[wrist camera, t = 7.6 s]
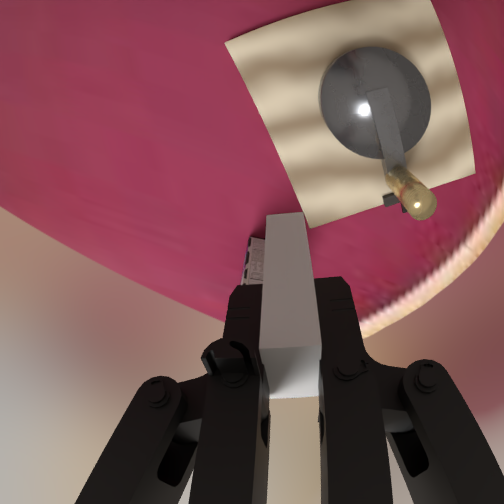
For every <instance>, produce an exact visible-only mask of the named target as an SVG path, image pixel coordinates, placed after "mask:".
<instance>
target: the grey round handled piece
mask: <svg viewBox="0 0 504 504" xmlns="http://www.w3.org/2000/svg"><path fill="white" fill-rule="evenodd" d="M318 103H319V109H320V112H321V116H322V118H323V120H324V122H325V124H326V126H327V127H328V129H329V130H330V131H331V133H332V134H333V135H334V136H335V138H336V139H337V140H338V141H339V142H340V143H341V144H342V145H343V146H345V147H346V148H347V149H349V150H350V151H352V152H354V153H356V154H358V155H360V156H363V157H366V158H372V159H381V162H382V166H383V171H384V175H385V181H386V184H387V186H388V187H389V188H390V190H391V191H392V192H393V193H394V194H395V196H396V197H397V198H398V199H399V201H400V202H401V207H402V212H403V213H405V212H409V214H410V215H411V216H412V217H413V218H414V219H416V220H425V219H427V218H429V217H430V216H431V215H432V214H433V213H434V211H435V209H436V206H437V200H436V197H435V195H434V194H433V193H432V192H431V191H430V190H429V189H428V188H427V187H426V186H425V185H424V184H423V183H422V182H421V181H420V180H419V179H417V178H416V177H415V176H414V175H413V174H412V173H411V172H410V171H409V170H408V169H407V165H406V160H405V155H404V153H405V152H407V151H409V150H410V149H411V148H413V147H414V146H415V145H416V144H417V143H418V142H419V140H420V139H421V138H422V136H423V135H424V133H425V131H426V129H427V127H428V124H429V121H430V115H431V98H430V93H429V90H428V86H427V84H426V82H425V80H424V78H423V76H422V75H421V73H420V72H419V70H418V69H417V68H416V67H415V65H413V64H412V63H411V62H410V61H409V60H408V59H407V58H405V57H404V56H402V55H401V54H399V53H397V52H395V51H392V50H390V49H386V48H382V47H362V48H358V49H354V50H350V51H348V52H345V53H343V54H341V55H340V56H338V57H337V58H336V59H335V60H333V61H332V62H331V63H330V65H329V66H328V67H327V68H326V70H325V72H324V73H323V76H322V78H321V81H320V85H319V90H318Z"/></svg>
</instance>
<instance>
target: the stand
mask: <svg viewBox="0 0 504 504" xmlns="http://www.w3.org/2000/svg"><path fill="white" fill-rule="evenodd" d="M225 45H226V47H227V49H228V51H229V53H230V55H231V57H232V59H233V60H234V62H235V64H236V66H237V68H238V70H239V72H240V74H241V76H242V78H243V80H244V82H245V84H246V86H247V88H248V90H249V92H250V94H251V96H252V98H253V100H254V102H255V104H256V106H257V109H258V111H259V113H260V115H261V117H262V119H263V121H264V123H265V125H266V128H267V130H268V132H269V134H270V136H271V138H272V141H273V143H274V145H275V147H276V149H277V152H278V154H279V156H280V158H281V161H282V163H283V165H284V167H285V170H286V172H287V174H288V177H289V179H290V181H291V184H292V186H293V188H294V191H295V193H296V196H297V198H298V200H299V203H300V205H301V208H302V210H303V212H304V215H305V217H306V220H307V222H308V225H309V227H310V229H311V228H314V227H317V226H320V225H323V224H326V223H329V222H332V221H335V220H338V219H341V218H344V217H347V216H349V215H352V214H355V213H358V212H361V211H364V210H367V209H370V208H373V207H376V206H379V205H382V204H384V205H385V207H388V206H391V205H394V204H396V203H399V202H400V201H399V199H398V198H397V197H396V196H395V194H394V193H393V192H392V191H391V190H390V188H389V187H388V186H387V184H386V181H385V175H384V171H383V166H382V162H381V159H372V158H366V157H363V156H360V155H358V154H356V153H354V152H352V151H350V150H349V149H347V148H346V147H345V146H343V145H342V144H341V143H340V142H339V141H338V140H337V139H336V138H335V136H334V135H333V134H332V133H331V131H330V130H329V129H328V127H327V126H326V124H325V122H324V120H323V118H322V116H321V112H320V109H319V103H318V90H319V85H320V81H321V78H322V76H323V73H324V72H325V70H326V68H327V67H328V66H329V65H330V63H331V62H332V61H333V60H335V59H336V58H337V57H338V56H340V55H341V54H343V53H345V52H348V51H350V50H354V49H358V48H362V47H382V48H386V49H390V50H392V51H395V52H397V53H399V54H401V55H402V56H404V57H405V58H407V59H408V60H409V61H410V62H411V63H412V64H413V65H415V67H416V68H417V69H418V70H419V72H420V73H421V75H422V76H423V78H424V80H425V82H426V84H427V86H428V90H429V93H430V98H431V115H430V121H429V124H428V127H427V129H426V131H425V133H424V135H423V136H422V138H421V139H420V140H419V142H418V143H417V144H416V145H415V146H414V147H413V148H411V149H410V150H409V151H407V152H405V153H404V155H405V160H406V165H407V169H408V170H409V171H410V172H411V173H412V174H413V175H414V176H415V177H416V178H417V179H419V180H420V181H421V182H422V183H423V184H424V185H425V186H426V187H427V188H428V189H430V188H433V187H436V186H439V185H442V184H445V183H448V182H451V181H454V180H457V179H460V178H463V177H466V176H469V175H472V174H475V165H474V157H473V149H472V142H471V136H470V130H469V124H468V119H467V113H466V109H465V104H464V100H463V95H462V91H461V87H460V83H459V79H458V76H457V72H456V69H455V65H454V62H453V59H452V56H451V53H450V50H449V47H448V44H447V41H446V38H445V35H444V33H443V30H442V27H441V25H440V22H439V20H438V17H437V15H436V12H435V10H434V8H433V5H432V3H431V1H430V0H351V1H346V2H342V3H338V4H334V5H330V6H326V7H322V8H318V9H315V10H311V11H308V12H305V13H301V14H298V15H295V16H292V17H289V18H286V19H283V20H280V21H277V22H274V23H272V24H269V25H266V26H264V27H261V28H258V29H256V30H253V31H251V32H248V33H246V34H244V35H241V36H239V37H237V38H234V39H232V40H230V41H228V42H225Z"/></svg>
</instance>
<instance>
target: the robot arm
mask: <svg viewBox="0 0 504 504" xmlns="http://www.w3.org/2000/svg"><path fill="white" fill-rule="evenodd" d="M201 360H202V362H203V364H204V366H205V368H206V370H207V372H208V373H207V374H205V375H203V376H201V377H198V378H195V379H191V380H187V381H184V382H179V383H177V382H176V381H175V380H173V379H172V378H169V377H166V376H157V377H153V378H151V379H149V380H147V381H146V382H144V383H143V384H142V386H141V387H140V388H139V389H138V391H137V392H136V394H135V396H134V398H133V399H132V401H131V403H130V405H129V406H128V408H127V410H126V411H125V413H124V415H123V417H122V419H121V420H120V422H119V424H118V426H117V427H116V429H115V431H114V433H113V435H112V436H111V438H110V440H109V442H108V443H107V445H106V447H105V449H104V451H103V452H102V454H101V456H100V458H99V460H98V461H97V463H96V465H95V467H94V469H93V470H92V473H91V474H90V476H89V478H88V480H87V482H86V484H85V485H84V487H83V489H82V491H81V493H80V495H79V497H78V499H77V500H76V502H75V504H178V502H179V500H180V498H181V496H182V494H183V491H184V489H185V487H186V485H187V482H188V480H189V478H190V476H191V473H192V471H193V469H194V471H193V478H192V484H191V491H190V497H189V504H266V503H267V484H268V483H267V482H268V465H269V463H268V462H269V442H270V417H271V415H270V410H269V395H270V398H272V399H275V398H295V397H310V396H319V416H318V422H319V428H320V456H321V504H393V496H392V486H391V476H390V466H389V457H388V449H387V442H386V437H387V439H388V442H389V444H390V446H391V449H392V451H393V453H394V456H395V458H396V460H397V463H398V465H399V468H400V470H401V473H402V475H403V477H404V480H405V482H406V485H407V487H408V490H409V492H410V495H411V497H412V500H413V502H414V504H504V476H503V474H502V471H501V469H500V467H499V465H498V463H497V461H496V459H495V456H494V454H493V453H492V450H491V448H490V446H489V445H488V443H487V440H486V439H485V437H484V435H483V433H482V431H481V429H480V427H479V425H478V423H477V422H476V420H475V418H474V416H473V414H472V413H471V411H470V409H469V407H468V405H467V404H466V402H465V400H464V399H463V397H462V395H461V393H460V392H459V390H458V388H457V387H456V385H455V384H454V382H453V380H452V379H451V377H450V375H449V374H448V372H447V370H445V368H444V367H443V366H442V365H441V364H439V363H437V362H435V361H433V360H427V359H423V360H418V361H415V362H414V363H412V364H411V365H409V366H408V368H399V367H392V366H387V365H383V364H380V363H378V362H376V361H375V360H373V359H372V358H371V357H370V356H369V355H368V353H367V352H366V350H365V347H364V344H363V339H362V335H361V331H360V326H359V322H358V318H357V313H356V310H355V305H354V301H353V297H352V293H351V289H350V286H349V285H348V284H347V283H346V281H345V280H344V279H343V278H342V277H341V276H339V277H328V278H316V279H314V278H313V271H312V264H311V258H310V251H309V244H308V238H307V232H306V226H305V220H304V214H303V212H296V213H285V214H274V215H267V217H266V236H265V255H264V273H263V284H249V285H237V287H236V288H235V289H234V291H233V292H232V294H231V295H230V297H229V303H228V310H227V315H226V321H225V327H224V333H223V338H220V339H219V340H216V341H215V342H212V343H211V344H210V345H209V346H208V347H207V348H206V349H205V350H204V352H203V354H202V356H201Z"/></svg>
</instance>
